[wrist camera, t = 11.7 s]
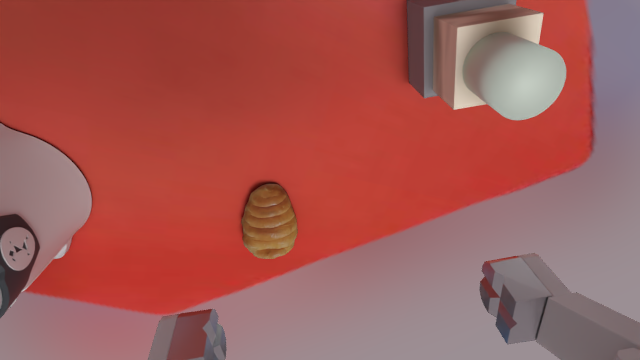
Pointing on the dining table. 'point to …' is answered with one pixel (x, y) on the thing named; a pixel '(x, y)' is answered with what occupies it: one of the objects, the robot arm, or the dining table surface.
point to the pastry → (269, 222)
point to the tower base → (421, 11)
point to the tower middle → (462, 34)
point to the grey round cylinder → (514, 75)
